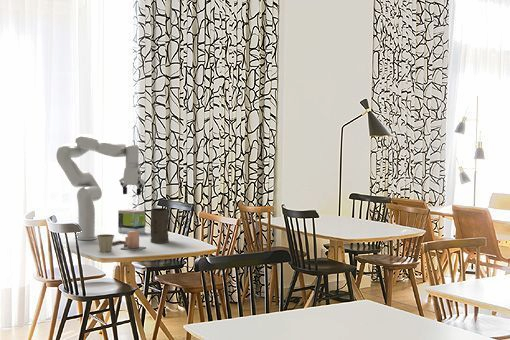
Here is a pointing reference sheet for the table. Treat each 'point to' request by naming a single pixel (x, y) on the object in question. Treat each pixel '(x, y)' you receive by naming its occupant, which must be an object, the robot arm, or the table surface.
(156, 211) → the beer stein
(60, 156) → the robot arm
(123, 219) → the tea box
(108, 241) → the flower pot
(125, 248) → the coaster
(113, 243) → the cradle
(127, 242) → the jug
